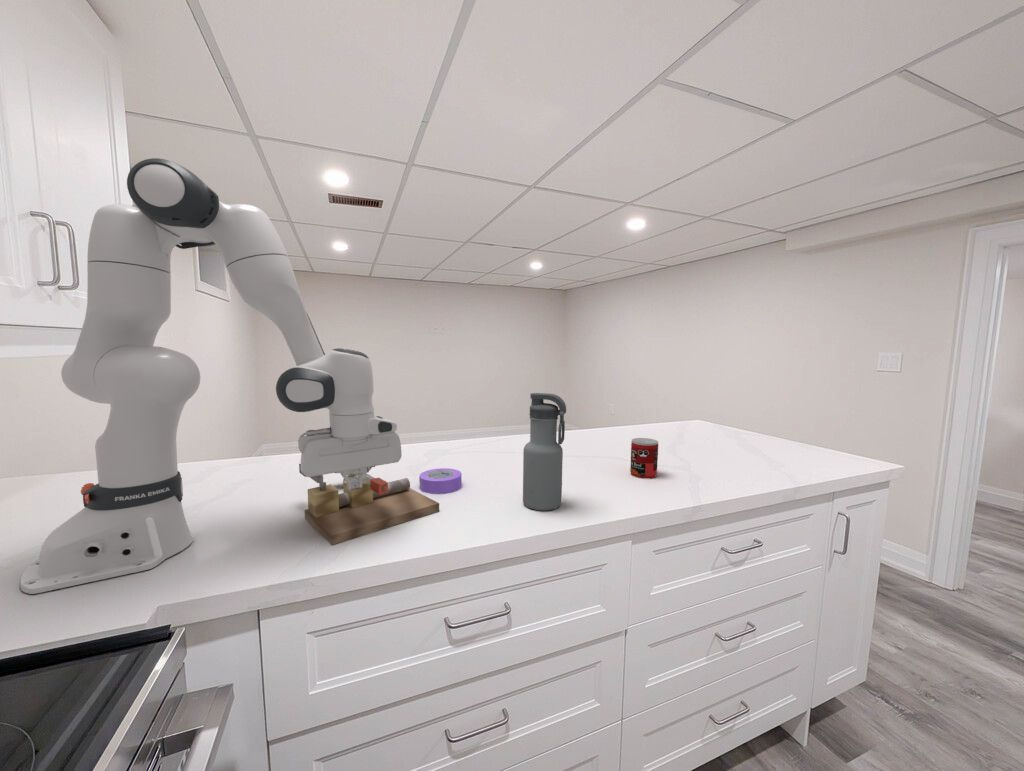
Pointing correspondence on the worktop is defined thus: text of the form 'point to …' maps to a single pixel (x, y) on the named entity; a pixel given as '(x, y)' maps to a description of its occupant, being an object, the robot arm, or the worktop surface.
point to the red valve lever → (375, 484)
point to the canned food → (644, 457)
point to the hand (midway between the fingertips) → (354, 488)
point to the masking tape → (440, 481)
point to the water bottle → (544, 454)
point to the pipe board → (363, 508)
